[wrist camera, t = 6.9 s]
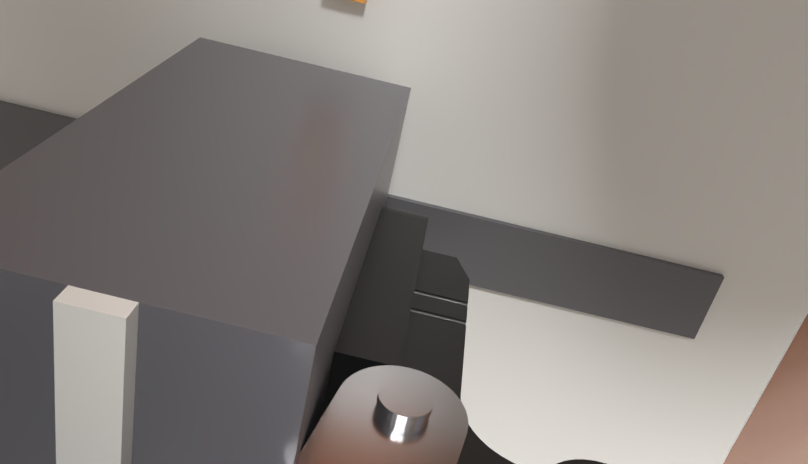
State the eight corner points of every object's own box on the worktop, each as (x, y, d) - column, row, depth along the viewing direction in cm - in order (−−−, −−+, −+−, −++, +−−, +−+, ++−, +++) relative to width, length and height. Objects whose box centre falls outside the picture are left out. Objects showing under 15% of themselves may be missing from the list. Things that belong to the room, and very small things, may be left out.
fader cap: (200, 37, 10) (-131, 256, 5) (410, 88, 10) (310, 362, 5) (177, 325, 13) (-63, 686, 7) (349, 367, 13) (235, 760, 7)
